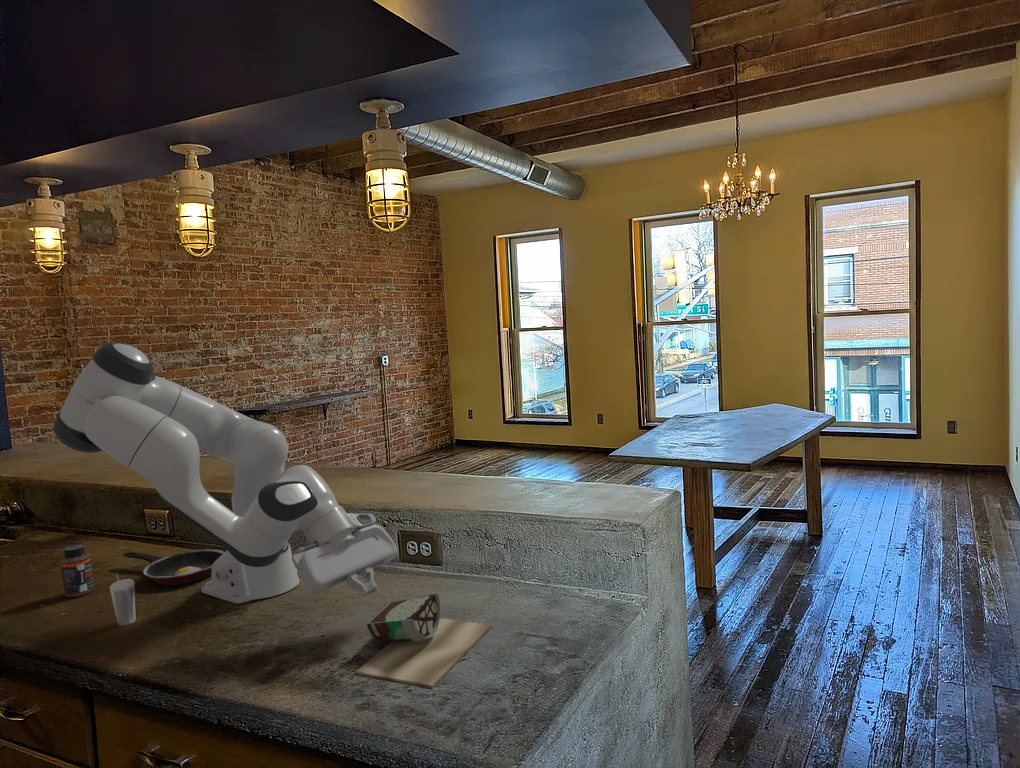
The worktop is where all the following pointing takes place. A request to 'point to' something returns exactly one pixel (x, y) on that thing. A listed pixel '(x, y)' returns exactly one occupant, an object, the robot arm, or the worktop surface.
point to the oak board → (425, 654)
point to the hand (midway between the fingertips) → (370, 592)
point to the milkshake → (124, 600)
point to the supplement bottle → (76, 572)
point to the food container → (407, 619)
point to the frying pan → (178, 566)
